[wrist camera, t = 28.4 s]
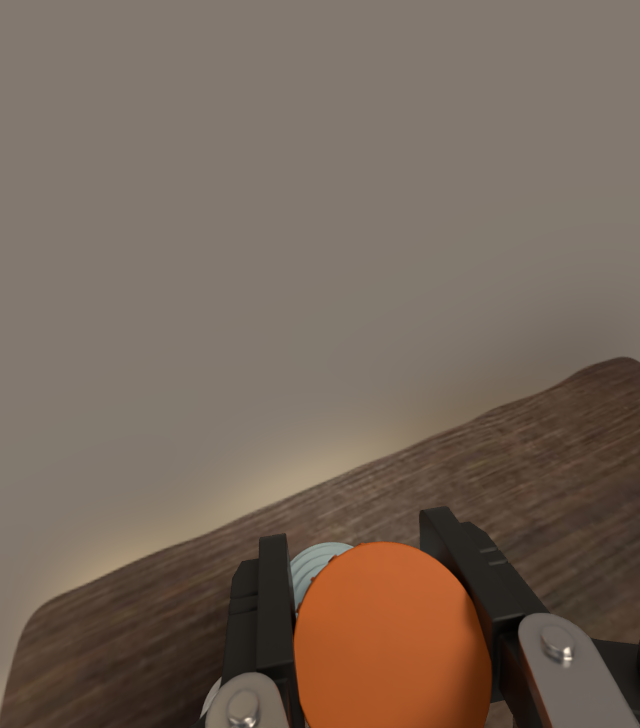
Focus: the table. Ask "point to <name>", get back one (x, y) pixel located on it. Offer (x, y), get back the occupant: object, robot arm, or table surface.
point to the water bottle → (312, 565)
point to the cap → (390, 644)
